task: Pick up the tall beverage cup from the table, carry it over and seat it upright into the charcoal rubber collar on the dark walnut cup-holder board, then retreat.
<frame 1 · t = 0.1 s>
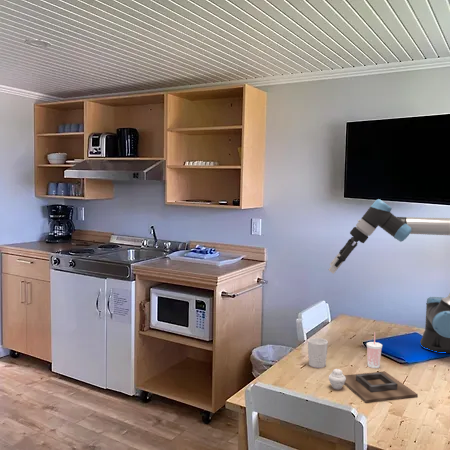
hand: (331, 269, 206), 36 cm above the table, tool tilted 35°, fingers open, 13 cm apart
cup holder: (375, 387, 169), on the table
white lidded jar: (336, 388, 168), on the table
beverage cup: (373, 366, 189), on the table
white cup: (317, 365, 189), on the table
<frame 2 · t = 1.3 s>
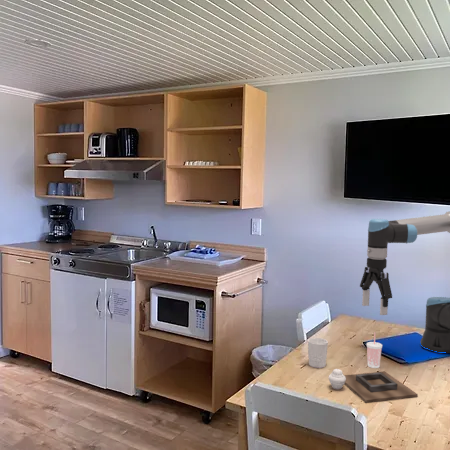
hand: (374, 310, 187), 23 cm above the table, tool pointing down, fingers open, 13 cm apart
nothing on the table moved.
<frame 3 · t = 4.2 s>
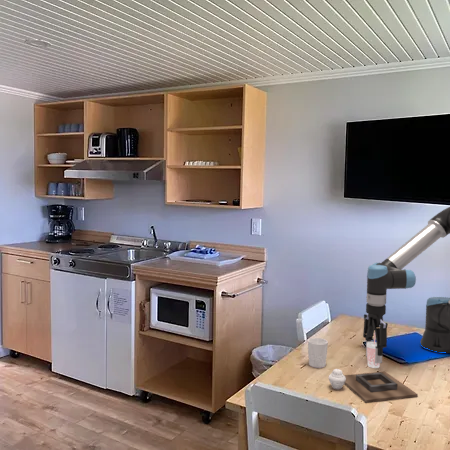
hand: (373, 359, 188), 3 cm above the table, tool pointing down, fingers closed on beverage cup, 6 cm apart
beverage cup: (373, 366, 189), on the table, touching gripper
everything else where it was.
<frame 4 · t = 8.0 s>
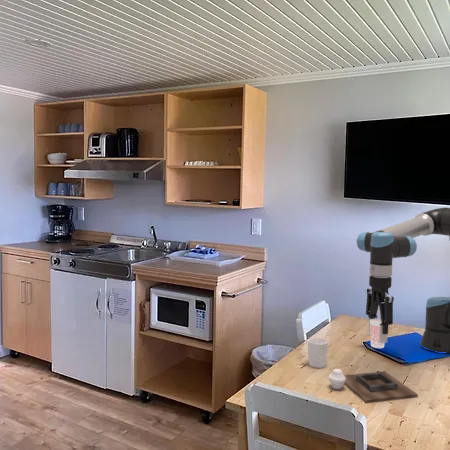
hand: (377, 338, 167), 18 cm above the table, tool pointing down, fingers closed on beverage cup, 6 cm apart
beverage cup: (377, 346, 167), point 15 cm above the table, touching gripper
everything else where it was.
when the fingers open (5 cm above the table, at t = 11.0 s): beverage cup drops 1 cm, resting on cup holder.
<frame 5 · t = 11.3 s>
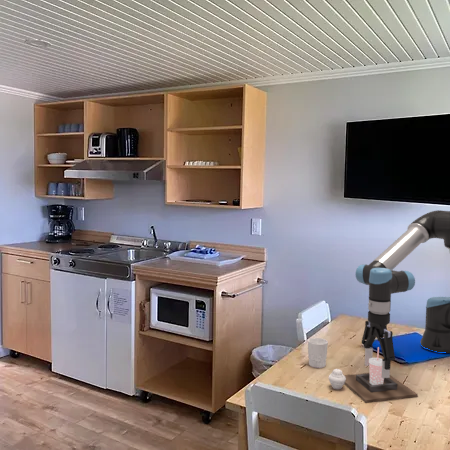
hand: (376, 371, 168), 6 cm above the table, tool pointing down, fingers open, 10 cm apart
beverage cup: (376, 385, 169), point 1 cm above the table, touching cup holder
everything else where it was.
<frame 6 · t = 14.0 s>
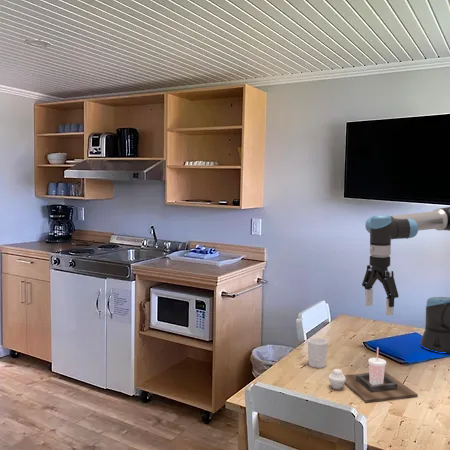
hand: (378, 310, 179), 25 cm above the table, tool pointing down, fingers open, 13 cm apart
nothing on the table moved.
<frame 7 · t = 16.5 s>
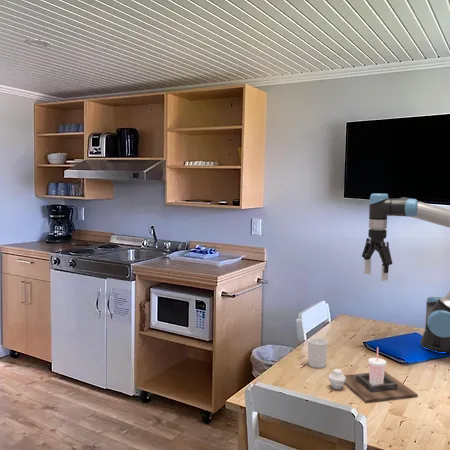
hand: (375, 277, 204), 33 cm above the table, tool pointing down, fingers open, 13 cm apart
nothing on the table moved.
at the end: beverage cup 0.1 cm off-centre on the cup holder, point 0.8 cm above the cup holder's base; beverage cup tilted 0°; the gripper is holding nothing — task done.
